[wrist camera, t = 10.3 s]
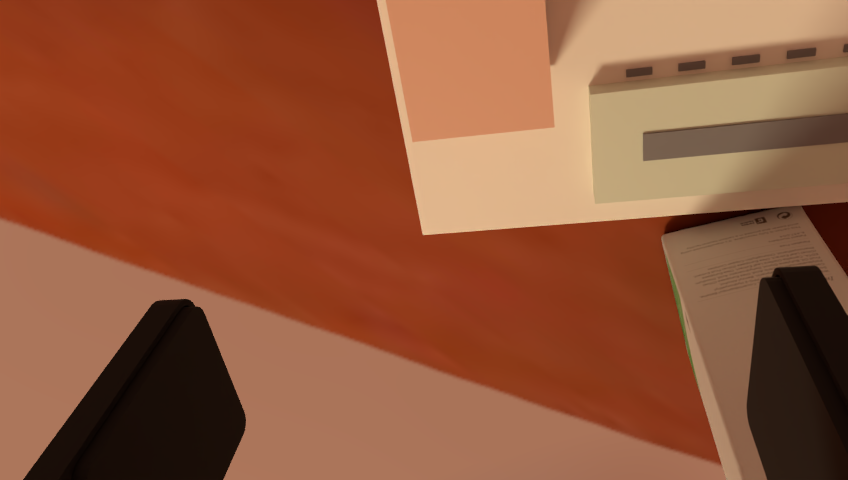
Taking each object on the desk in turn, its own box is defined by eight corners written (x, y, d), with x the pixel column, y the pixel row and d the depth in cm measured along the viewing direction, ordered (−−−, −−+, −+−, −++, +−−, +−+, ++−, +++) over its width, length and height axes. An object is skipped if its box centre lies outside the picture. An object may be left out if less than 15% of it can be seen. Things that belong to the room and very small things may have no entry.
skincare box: (658, 229, 33) (742, 512, 20) (810, 195, 32) (1009, 482, 19) (687, 358, 37) (773, 664, 24) (824, 335, 36) (995, 652, 23)
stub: (538, -84, 25) (540, -58, 21) (550, 77, 28) (554, 127, 24) (402, -62, 26) (379, -33, 22) (428, 91, 29) (412, 142, 25)
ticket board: (1026, -267, 22) (1073, -272, 20) (924, 181, 31) (950, 208, 29) (356, -143, 26) (342, -137, 25) (425, 222, 35) (420, 247, 33)
